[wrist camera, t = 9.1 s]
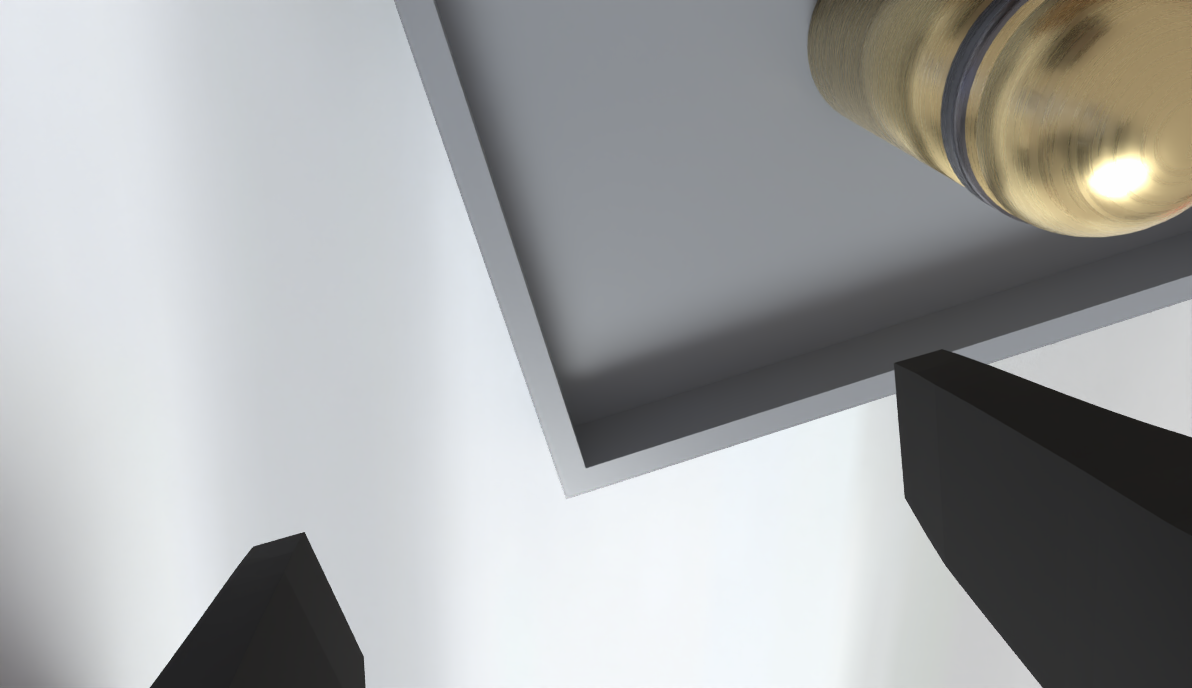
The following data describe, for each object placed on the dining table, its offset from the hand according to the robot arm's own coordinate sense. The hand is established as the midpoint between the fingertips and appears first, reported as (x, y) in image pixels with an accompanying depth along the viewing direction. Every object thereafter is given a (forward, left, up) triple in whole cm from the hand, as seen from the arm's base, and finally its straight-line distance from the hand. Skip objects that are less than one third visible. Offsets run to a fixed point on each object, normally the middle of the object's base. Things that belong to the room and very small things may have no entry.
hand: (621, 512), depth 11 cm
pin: (+8, +2, -9) cm, 12 cm away
